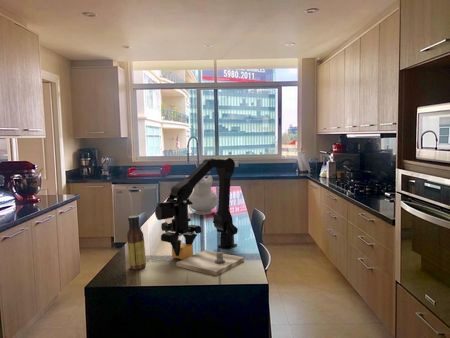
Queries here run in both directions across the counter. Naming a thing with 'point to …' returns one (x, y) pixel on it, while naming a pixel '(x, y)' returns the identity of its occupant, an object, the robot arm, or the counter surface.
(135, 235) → the sauce bottle
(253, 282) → the counter surface
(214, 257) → the birch board
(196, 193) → the ceramic pitcher
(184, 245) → the amber foam cube
